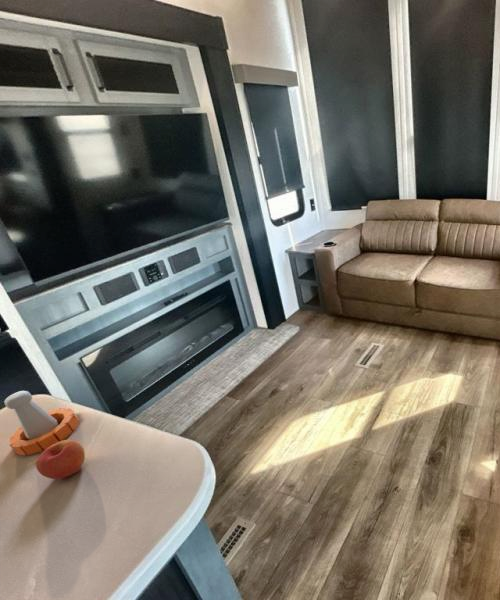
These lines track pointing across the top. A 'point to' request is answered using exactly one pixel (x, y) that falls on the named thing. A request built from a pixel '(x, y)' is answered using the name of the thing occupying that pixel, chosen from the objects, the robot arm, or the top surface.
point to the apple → (61, 459)
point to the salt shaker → (30, 415)
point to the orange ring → (57, 434)
